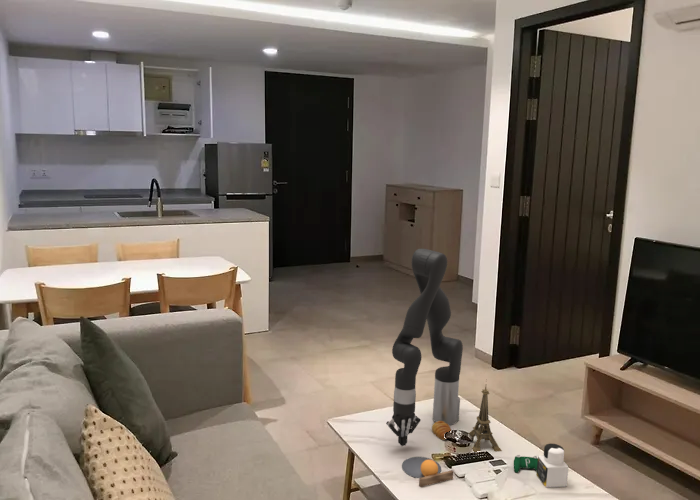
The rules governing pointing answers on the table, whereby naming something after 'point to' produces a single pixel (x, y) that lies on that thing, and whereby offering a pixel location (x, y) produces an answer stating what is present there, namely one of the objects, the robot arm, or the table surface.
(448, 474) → the strip
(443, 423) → the pastry
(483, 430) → the eiffel tower
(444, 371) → the robot arm
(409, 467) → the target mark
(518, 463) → the gaming controller
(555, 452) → the medicine bottle
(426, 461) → the ball
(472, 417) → the table surface
